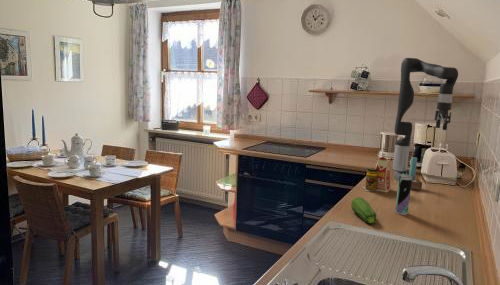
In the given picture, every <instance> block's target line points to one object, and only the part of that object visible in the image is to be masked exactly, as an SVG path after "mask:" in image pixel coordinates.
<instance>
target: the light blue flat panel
mask: <svg viewBox="0 0 500 285" xmlns="http://www.w3.org/2000/svg"><path fill="white" fill-rule="evenodd" d="M417 163H418V157H416V156H411V157H410V163H409V164H410V165H409V170H408V173H409V175H410V176H412V181H414V182H417V181H416V174H417V173H416V172H417Z"/></svg>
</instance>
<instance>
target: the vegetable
mask: <svg viewBox="0 0 500 285" xmlns="http://www.w3.org/2000/svg"><path fill="white" fill-rule="evenodd" d="M350 203H351V204H350V207H351V209H352V211H353V212H354V213H355V214H357V215H358V216H359V217H360V218H361V219H362V220H363V221H364V222H366V223H367V224H374V223H375V222H376V221H377V214H376V212H375V210H374V209H373V208H372V206H371V205H370V203H369V202H368V201H367V200H366V199H365V198H363V197H361V196H358V197H354V198H353V199H352V200H351V202H350Z"/></svg>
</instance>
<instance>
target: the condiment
mask: <svg viewBox="0 0 500 285" xmlns="http://www.w3.org/2000/svg"><path fill="white" fill-rule="evenodd" d="M377 171H378V170H377V169H376V167H368V168H367V172H366V175H365V186H361V187H362V189H363V190H365V191H366V192H380V191H379V190H376V189H377V180H378V174H377V173H378V172H377Z"/></svg>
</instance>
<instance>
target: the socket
mask: <svg viewBox="0 0 500 285" xmlns="http://www.w3.org/2000/svg"><path fill="white" fill-rule="evenodd" d="M415 181H417V182H414V181H412V182H411V191H422V186H423V182H422V181H421V180H419V179H416V178H415Z"/></svg>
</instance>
